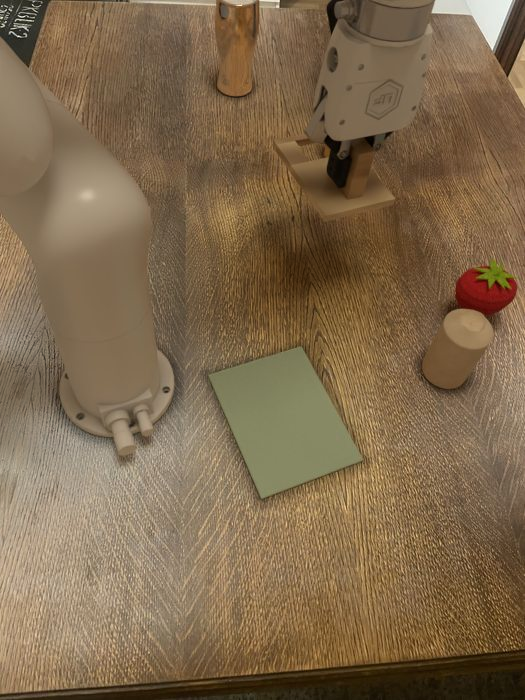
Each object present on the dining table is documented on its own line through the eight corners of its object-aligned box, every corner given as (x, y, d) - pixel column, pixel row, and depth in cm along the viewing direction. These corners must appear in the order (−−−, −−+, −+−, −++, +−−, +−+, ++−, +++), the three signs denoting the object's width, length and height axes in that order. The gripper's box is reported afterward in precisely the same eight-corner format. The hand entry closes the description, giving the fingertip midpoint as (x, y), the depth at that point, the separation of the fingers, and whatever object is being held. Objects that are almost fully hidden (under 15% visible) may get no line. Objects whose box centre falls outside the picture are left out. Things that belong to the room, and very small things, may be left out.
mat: (362, 461, 66) (363, 459, 65) (261, 500, 62) (261, 498, 62) (301, 347, 74) (301, 345, 73) (207, 376, 70) (207, 374, 70)
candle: (456, 397, 71) (489, 349, 63) (414, 375, 72) (440, 325, 64) (472, 365, 74) (505, 315, 66) (431, 344, 75) (459, 292, 67)
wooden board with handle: (272, 146, 74) (278, 93, 68) (336, 133, 76) (348, 81, 71) (324, 222, 67) (336, 170, 61) (393, 205, 69) (411, 153, 64)
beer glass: (262, 84, 105) (269, -7, 92) (240, 103, 101) (244, 10, 89) (229, 70, 106) (232, -21, 94) (206, 88, 103) (205, -5, 91)
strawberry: (436, 299, 80) (462, 245, 71) (490, 297, 81) (522, 243, 72) (449, 335, 76) (477, 283, 68) (505, 333, 77) (540, 281, 69)
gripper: (328, 43, 49) (297, 214, 64) (484, 20, 54) (422, 184, 69) (289, -1, 53) (268, 171, 68) (438, -19, 58) (388, 145, 73)
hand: (346, 176), depth 68 cm, fingers closed on wooden board with handle
